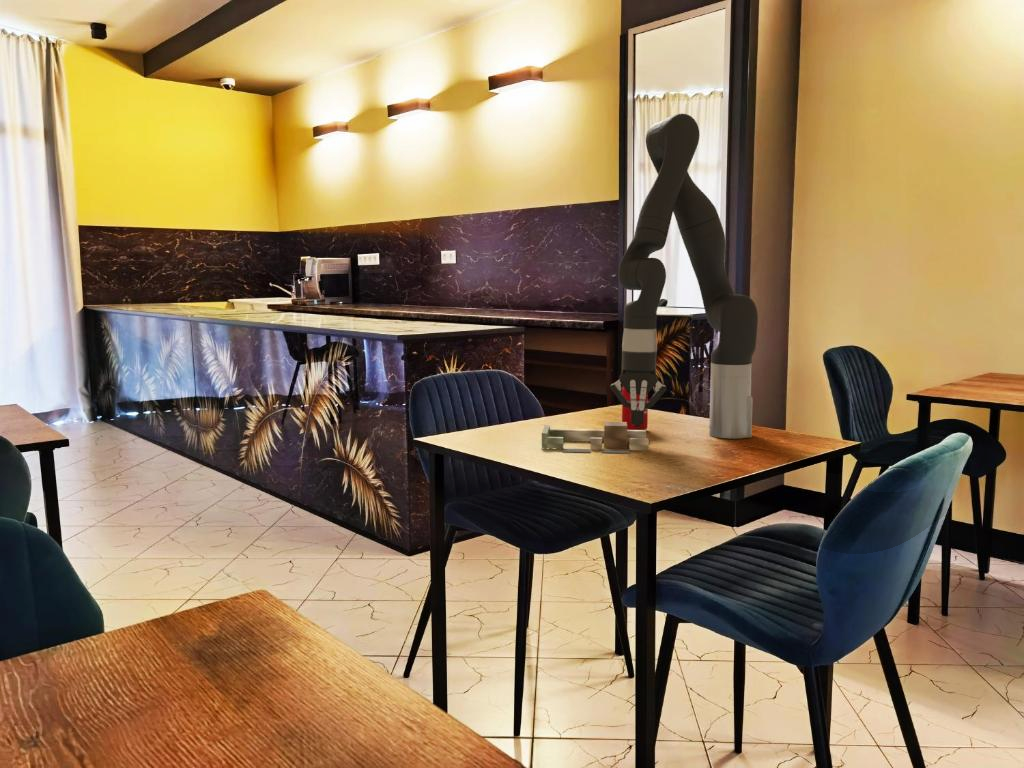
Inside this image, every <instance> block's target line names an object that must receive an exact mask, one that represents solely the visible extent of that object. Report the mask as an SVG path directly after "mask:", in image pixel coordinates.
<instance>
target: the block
mask: <svg viewBox="0 0 1024 768" xmlns="http://www.w3.org/2000/svg"><path fill="white" fill-rule="evenodd" d="M603 430H604V441H603V443H604V444H603V449H605V448H608V449H612V448H615V449H616V448H617V449H627V448H628V442H627V422H622V421H604V423H603Z"/></svg>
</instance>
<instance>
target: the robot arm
mask: <svg viewBox="0 0 1024 768" xmlns="http://www.w3.org/2000/svg"><path fill="white" fill-rule="evenodd" d="M699 141H700V128H699V125H698V123H697V121H696V120H695V118H693V117H692V116H691V115H689V114H687V113H677V114H674V115H670V116H669V117H667V118H664V119H662V120H660V121H657V122H656V123H653V124H652V125H651V126H650V127H649V128H648V129H647V132H646V134H645V147H646V150H647V153H648V156H649V158H650V160H651V163H652V165H653V167H654V169H655V171H656V173H657V177H656V179H655V180H654V183H653V185H652V186H651V188H650V190H649V191H648V193H647V195H646V196H645V199H644V201H643V203H642V205H641V208H640V210H639V215H638V219H637V223H636V226H635V231H634V235H633V238H632V240H631V241H630V243H629V245H628V247H627V249H626V251H625V253H624V254H623V257H622V259H621V260H620V263H619V266H618V270H617V276H618V282H619V284H620V285H621V287H622V288H623V289H625V290H628V291H640V294H639V296H638V298H637V299H636V300H634V301H630V302H628V303H626V305H625V306H624V314H623V315H624V316H623V317H624V318H623V320H624V323H623V334H622V344H621V348H622V349H621V373H620V375H619V377H618V380H616V381H615V382H614V383H611V384H610V390H611V391H612V393H613V394H614V395H615V397H616V398H617V400H618V401H619V403H620V404H621V406H622V405H623V406H624V407H627V408H630V409H631V423H632V424H634V427H640V425H641V424H642V425H643V423H644V410H645V409H647V408H648V409H651V408H652V407H654V405H655V404H657V402H658V401H659V400H660V399H661V397H662V396H663V395H664V394H665V393H666V391H667V390H668V389H667V386H666V385H665V384H662V383H661V382H660V381H659V377H658V375H657V352H658V351H657V350H658V335H657V318H658V317H657V315H658V314H657V311H658V308H659V305H660V301H661V298H662V294H663V291H664V288H665V285H666V279H667V272H666V268H665V265H664V263H663V262H662V260H660V259H659V258H657V257H650V256H651V254H653V253H654V252H658V251H660V250H662V249H664V247H665V245H666V242H667V238H668V234H669V231H670V230H669V229H670V225H671V221H672V217H673V215H674V219H675V221H676V223H677V227H678V230H679V233H680V236H681V239H682V243H683V245H684V248H685V250H686V252H687V255H688V258H689V260H690V264H691V267H692V268H693V271H694V274H695V277H696V281H697V284H698V287H699V291H700V295H701V301H702V302H703V303H702V304H703V308H704V313H705V315H706V320H707V322H708V324H709V326H710V327H711V328H713V330H715V331H717V332H719V339H718V344H717V347H716V348H715V349H713V350H712V351H711V354H710V383H709V384H710V386H709V390H710V391H709V392H710V394H709V426H708V427H709V430H708V431H709V433H708V434H709V436H711V437H715V438H720V439H732V440H733V439H745V438H752V432H753V431H752V430H753V428H752V427H753V396H752V364H753V363H752V362H753V356H754V353H755V351H756V348H757V338H758V337H757V336H758V335H757V334H758V321H759V320H758V319H759V316H758V315H759V314H758V308H757V305H756V303H755V302H754V300H753V299H752V298H751V297H750V296H748V295H745V294H739V293H738V294H737V293H736V294H735V292H734V290H733V288H732V286H731V282H730V280H729V278H728V274H727V270H726V248H727V247H726V234H725V232H724V228H723V225H722V222H721V219H720V216H719V214H718V211H717V208H716V206H715V205H714V204H713V202H712V201H711V199H710V198H709V197H708V196H707V195H706V194H705V193H704V192H703V191H702V189H700V188H699V187H698V186H697V184H696V183H695V182H694V181H693V179H692V177H691V176H690V173H689V171H688V170H689V168H690V166H691V163H692V160H693V159H694V156H695V153H696V151H697V147H698V146H699ZM621 385H622V386H621ZM623 387H624V388H625V389H626V391H627V392H628V393H629V394H630V397H631V402H629V401H627V400H626V398H625V397H624V396H623V394H622V388H623ZM654 387H655V388H654ZM653 388H654V391H655V393H653V395H652V396H651V397H650V399H648V402H646V403H645V398H646V394H648V395H649V393H650V392H651V391H652V389H653ZM636 394H640V397H639V409H638V410H637V405H636ZM637 413H638V414H637Z"/></svg>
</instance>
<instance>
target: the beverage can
mask: <svg viewBox="0 0 1024 768" xmlns="http://www.w3.org/2000/svg"><path fill="white" fill-rule="evenodd" d="M621 393H622V394H623V396H624V397H625V398H626V400H627V401H629V402H631V397H630V394H629V393H628V392H627V391H626V389H625V388H624V387H623V386H622V387H621ZM639 397H640V394H636V405H637V410H638V409H639ZM648 398H649V393H648V394H646V398H645V403H646V402H648V401H649V399H648ZM648 411H649V408H647V409H645V410H644V423H643V425H642V424H641V425H640V427H634V424H632V423H631V409H630V408H627V407H624V406H623V405H622V404H621V422H627V430H646V431H647V430H648V418H649V417H648V416H649V415H648V414H649V413H648ZM637 414H638V413H637Z"/></svg>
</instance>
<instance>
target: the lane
mask: <svg viewBox="0 0 1024 768" xmlns="http://www.w3.org/2000/svg"><path fill="white" fill-rule="evenodd" d="M564 442H590V445H589V446H590V448H589V449H592V450H591V451H593V450H595V451H599V450H600V451H602V449H603V442H604V429H571V428H570V429H567V428H551V424H545V425H544V427H543V429H542V432H541V449H542V448H556V449H555V450H563V449H564ZM627 443H629V446H628V447H629V449H628V450H630V451H649V438H648V437H647V429H646V430H627Z"/></svg>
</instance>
